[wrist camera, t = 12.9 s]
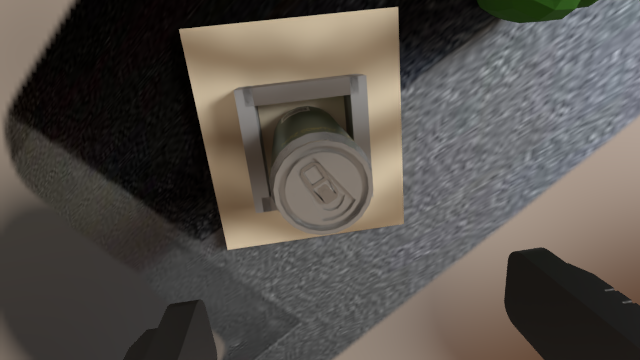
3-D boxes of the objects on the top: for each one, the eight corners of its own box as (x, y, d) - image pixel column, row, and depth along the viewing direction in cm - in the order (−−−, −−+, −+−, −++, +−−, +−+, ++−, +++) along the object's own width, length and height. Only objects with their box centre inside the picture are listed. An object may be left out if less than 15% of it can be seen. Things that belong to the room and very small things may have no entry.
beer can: (259, 130, 28) (245, 178, 16) (315, 90, 27) (341, 112, 16) (298, 182, 29) (309, 257, 18) (351, 146, 29) (397, 201, 18)
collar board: (184, 31, 26) (166, 25, 22) (391, 9, 27) (412, 0, 23) (229, 241, 32) (222, 268, 28) (398, 216, 33) (416, 239, 29)
